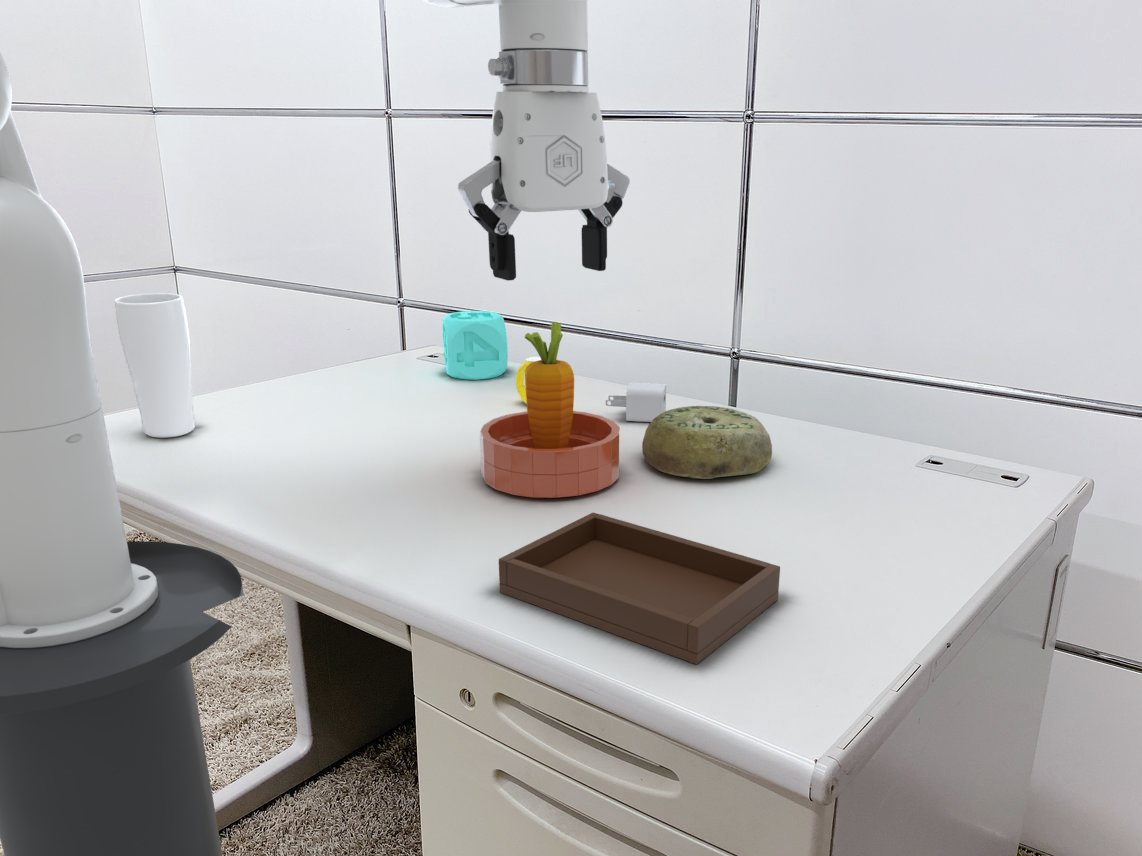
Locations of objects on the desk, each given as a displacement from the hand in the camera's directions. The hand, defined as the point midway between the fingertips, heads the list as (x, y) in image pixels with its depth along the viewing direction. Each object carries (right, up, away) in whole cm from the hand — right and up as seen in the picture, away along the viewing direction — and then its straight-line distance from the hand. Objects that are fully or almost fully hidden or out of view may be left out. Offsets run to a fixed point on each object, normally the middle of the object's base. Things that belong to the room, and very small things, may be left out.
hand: (550, 273), depth 91 cm
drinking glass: (-44, -14, +19) cm, 50 cm away
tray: (+8, -28, -17) cm, 34 cm away
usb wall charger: (+8, -12, +26) cm, 30 cm away
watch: (-4, -10, +31) cm, 33 cm away
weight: (+15, -18, +12) cm, 26 cm away
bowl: (-1, -19, +7) cm, 20 cm away
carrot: (-1, -19, +7) cm, 20 cm away
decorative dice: (-15, -4, +46) cm, 48 cm away
